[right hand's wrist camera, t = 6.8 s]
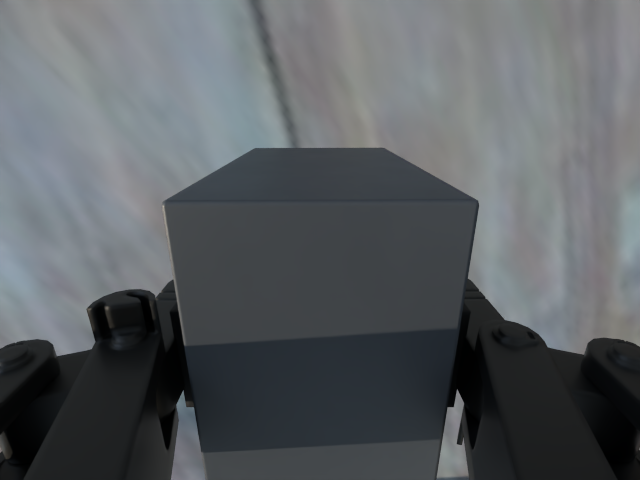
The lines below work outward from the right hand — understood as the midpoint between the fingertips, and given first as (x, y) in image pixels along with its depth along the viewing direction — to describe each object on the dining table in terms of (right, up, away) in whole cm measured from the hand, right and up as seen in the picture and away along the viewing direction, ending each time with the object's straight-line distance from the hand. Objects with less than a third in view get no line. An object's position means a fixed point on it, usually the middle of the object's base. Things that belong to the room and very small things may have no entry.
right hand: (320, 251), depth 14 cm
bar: (0, -24, +10) cm, 26 cm away
